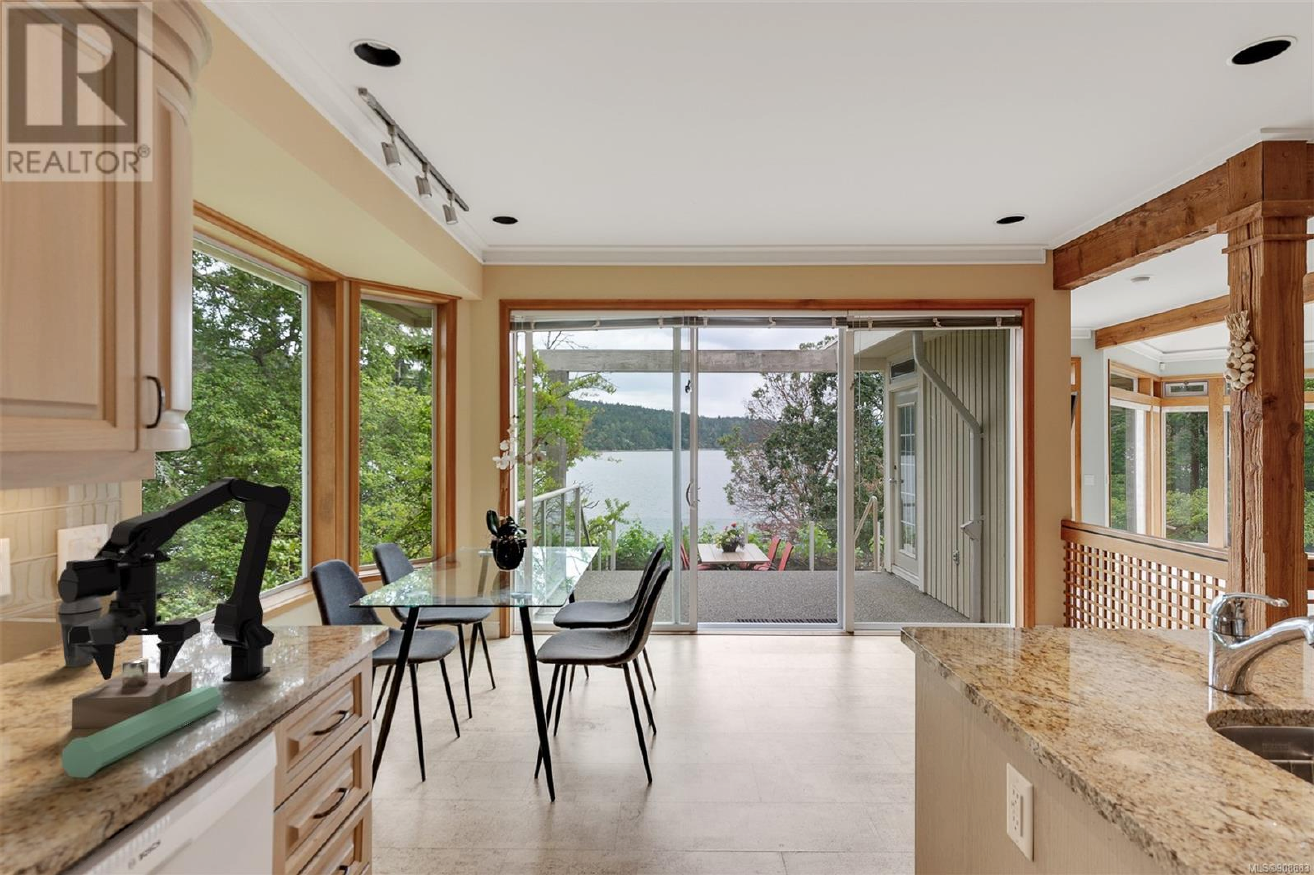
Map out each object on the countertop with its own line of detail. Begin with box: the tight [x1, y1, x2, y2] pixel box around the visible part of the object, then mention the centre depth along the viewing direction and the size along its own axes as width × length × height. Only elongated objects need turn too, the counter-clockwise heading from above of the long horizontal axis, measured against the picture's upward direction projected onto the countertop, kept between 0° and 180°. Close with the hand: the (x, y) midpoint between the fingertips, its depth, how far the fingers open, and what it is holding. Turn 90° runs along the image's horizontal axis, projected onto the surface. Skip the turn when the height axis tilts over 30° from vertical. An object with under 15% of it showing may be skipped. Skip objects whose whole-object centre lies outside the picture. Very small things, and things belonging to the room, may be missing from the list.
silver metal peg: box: [122, 657, 149, 688], centre depth 116 cm, size 4×4×8 cm
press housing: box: [71, 671, 193, 730], centre depth 116 cm, size 12×12×5 cm
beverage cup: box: [57, 598, 103, 668], centre depth 141 cm, size 7×7×20 cm
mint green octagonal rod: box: [61, 685, 223, 779], centre depth 107 cm, size 6×6×25 cm
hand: (135, 678), depth 116 cm, fingers open, 9 cm apart
